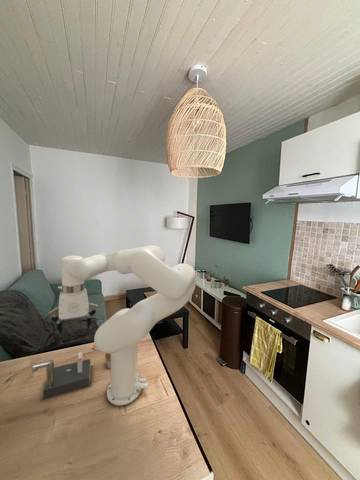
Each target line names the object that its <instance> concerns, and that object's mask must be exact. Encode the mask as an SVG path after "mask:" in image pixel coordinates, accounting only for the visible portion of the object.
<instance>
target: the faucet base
mask: <svg viewBox="0 0 360 480" xmlns="http://www.w3.org/2000/svg"><path fill="white" fill-rule="evenodd" d="M93 365H94V363H91V358H88V359H83V370H82V372H80V373H78V365H77V361H76V362H71V363H67V364H62V365H59V366H54V376H55V384H54V385H53V386H50V387H48V386H47V379H46V380H45V384H44V386H43V390H42V392H43V400H44V399H49V398H52V397H55V396H59V395H62V394H65V393H69V392H72V391H77V390H80V389H83V388H87V387H90V386H91V384H90V383H91V369H92V368H91V366H93Z"/></svg>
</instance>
